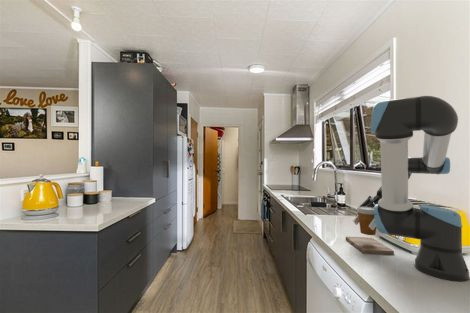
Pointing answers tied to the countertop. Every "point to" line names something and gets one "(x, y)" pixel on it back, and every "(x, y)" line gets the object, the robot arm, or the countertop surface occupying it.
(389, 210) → the robot arm
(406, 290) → the countertop surface
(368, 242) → the walnut board
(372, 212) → the disposable coffee cup
